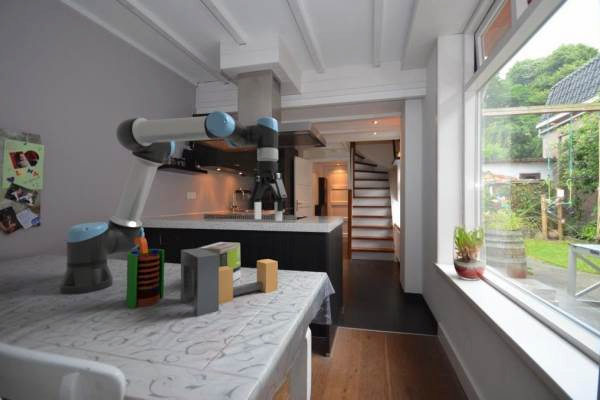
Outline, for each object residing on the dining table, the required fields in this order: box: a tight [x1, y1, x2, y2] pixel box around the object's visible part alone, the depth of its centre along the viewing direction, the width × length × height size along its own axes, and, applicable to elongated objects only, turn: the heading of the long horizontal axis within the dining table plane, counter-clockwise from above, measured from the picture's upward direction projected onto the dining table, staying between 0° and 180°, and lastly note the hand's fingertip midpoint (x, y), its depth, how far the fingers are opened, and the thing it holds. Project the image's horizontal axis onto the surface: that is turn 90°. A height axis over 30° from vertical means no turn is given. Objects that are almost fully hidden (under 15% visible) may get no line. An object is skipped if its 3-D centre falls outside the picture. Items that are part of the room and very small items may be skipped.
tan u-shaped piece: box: [219, 258, 279, 305], centre depth 90 cm, size 6×22×10 cm, turn 130°
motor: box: [125, 236, 166, 309], centre depth 83 cm, size 10×9×20 cm
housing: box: [180, 247, 220, 317], centre depth 80 cm, size 15×6×16 cm, turn 40°
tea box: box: [199, 241, 242, 282], centre depth 104 cm, size 15×10×15 cm, turn 163°
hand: (267, 220), depth 96 cm, fingers open, 13 cm apart
